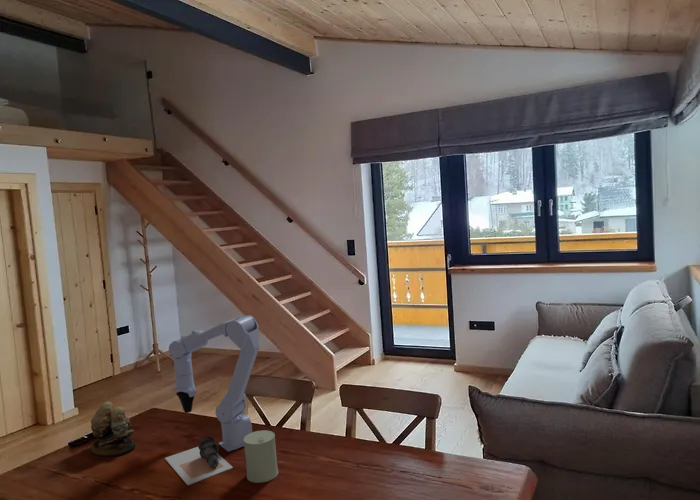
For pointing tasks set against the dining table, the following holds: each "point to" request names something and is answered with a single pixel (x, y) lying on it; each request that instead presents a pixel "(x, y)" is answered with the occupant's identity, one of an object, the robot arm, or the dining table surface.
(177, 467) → the mat
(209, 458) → the dark grey chess piece
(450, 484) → the dining table surface
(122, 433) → the rock sculpture
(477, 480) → the dining table surface
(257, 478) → the can
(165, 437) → the dining table surface
